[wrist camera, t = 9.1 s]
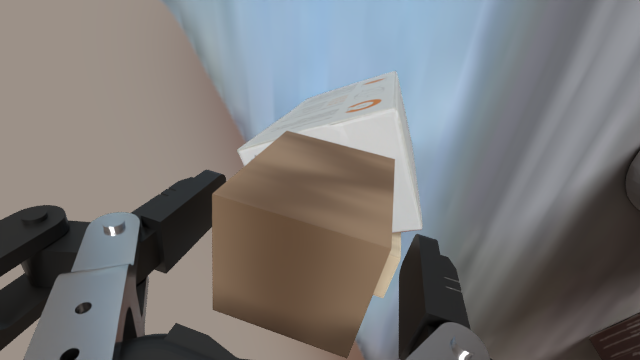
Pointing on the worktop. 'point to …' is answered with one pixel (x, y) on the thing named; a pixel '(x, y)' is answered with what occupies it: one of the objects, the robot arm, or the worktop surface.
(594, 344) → the box
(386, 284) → the maple block
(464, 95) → the worktop surface
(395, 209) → the small box
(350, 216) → the walnut block
